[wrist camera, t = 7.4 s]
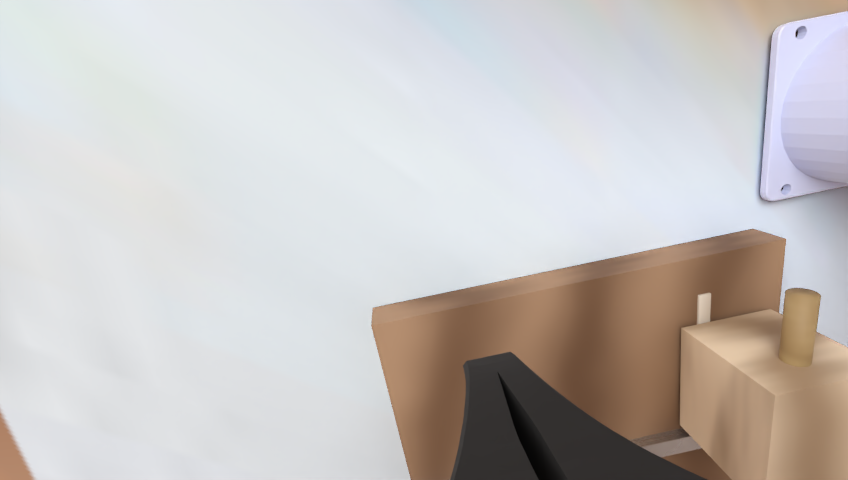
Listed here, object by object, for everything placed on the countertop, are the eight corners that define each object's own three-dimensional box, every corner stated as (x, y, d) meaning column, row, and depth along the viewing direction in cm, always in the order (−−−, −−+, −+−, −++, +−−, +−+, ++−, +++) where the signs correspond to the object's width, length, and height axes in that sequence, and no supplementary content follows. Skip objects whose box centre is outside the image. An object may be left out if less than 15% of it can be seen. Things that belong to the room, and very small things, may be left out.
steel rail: (768, 408, 22) (779, 416, 21) (767, 423, 22) (777, 431, 22) (413, 487, 21) (413, 497, 21) (416, 500, 22) (417, 511, 21)
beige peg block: (775, 252, 19) (907, 298, 14) (761, 406, 22) (867, 488, 17) (681, 272, 19) (782, 325, 14) (679, 424, 21) (762, 512, 17)
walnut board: (752, 228, 21) (787, 239, 19) (736, 452, 25) (763, 478, 23) (373, 307, 20) (371, 326, 18) (426, 521, 25) (429, 553, 23)
